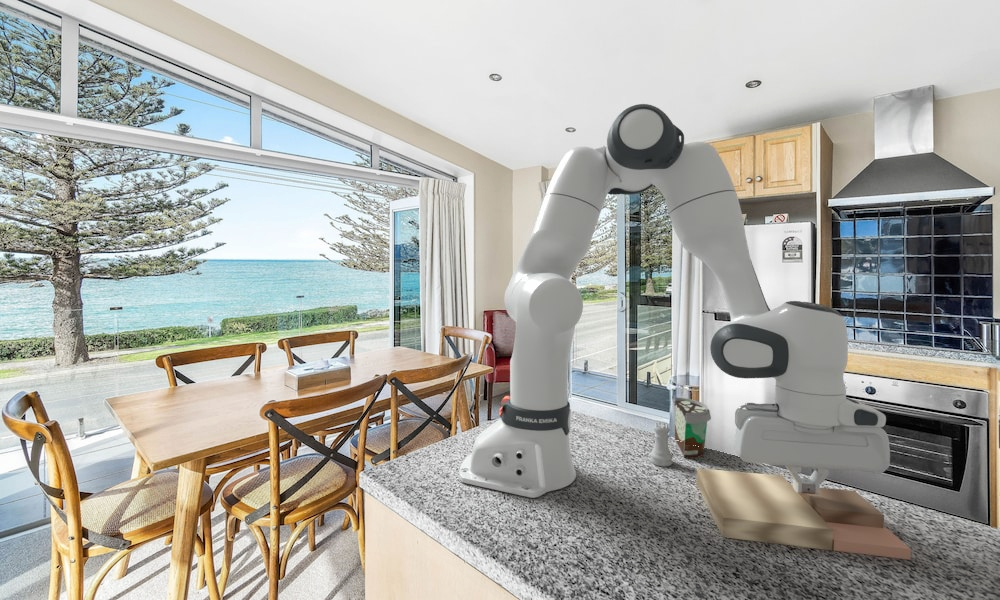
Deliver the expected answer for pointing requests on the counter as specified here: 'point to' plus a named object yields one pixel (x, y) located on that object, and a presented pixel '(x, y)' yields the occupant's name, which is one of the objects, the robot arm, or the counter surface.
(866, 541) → the salmon pink pad
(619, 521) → the counter surface
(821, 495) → the walnut tile
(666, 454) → the rook chess piece
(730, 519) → the oak board
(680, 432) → the food container
